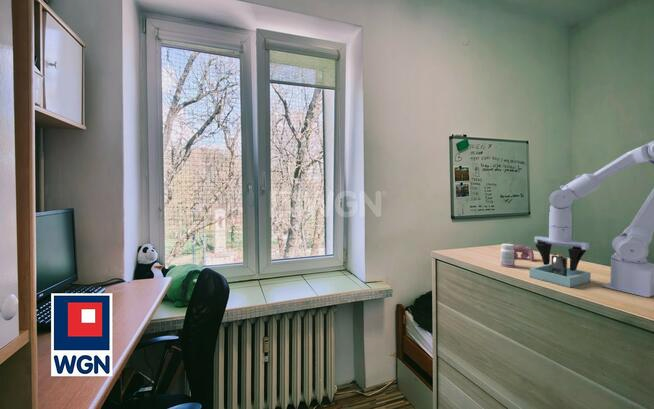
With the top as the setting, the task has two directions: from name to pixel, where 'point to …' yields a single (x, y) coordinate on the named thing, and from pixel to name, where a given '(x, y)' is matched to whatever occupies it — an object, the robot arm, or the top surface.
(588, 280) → the tray
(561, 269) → the dark grey bottle
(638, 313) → the top surface
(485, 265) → the top surface
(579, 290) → the top surface
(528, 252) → the video game controller
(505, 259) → the pill bottle
